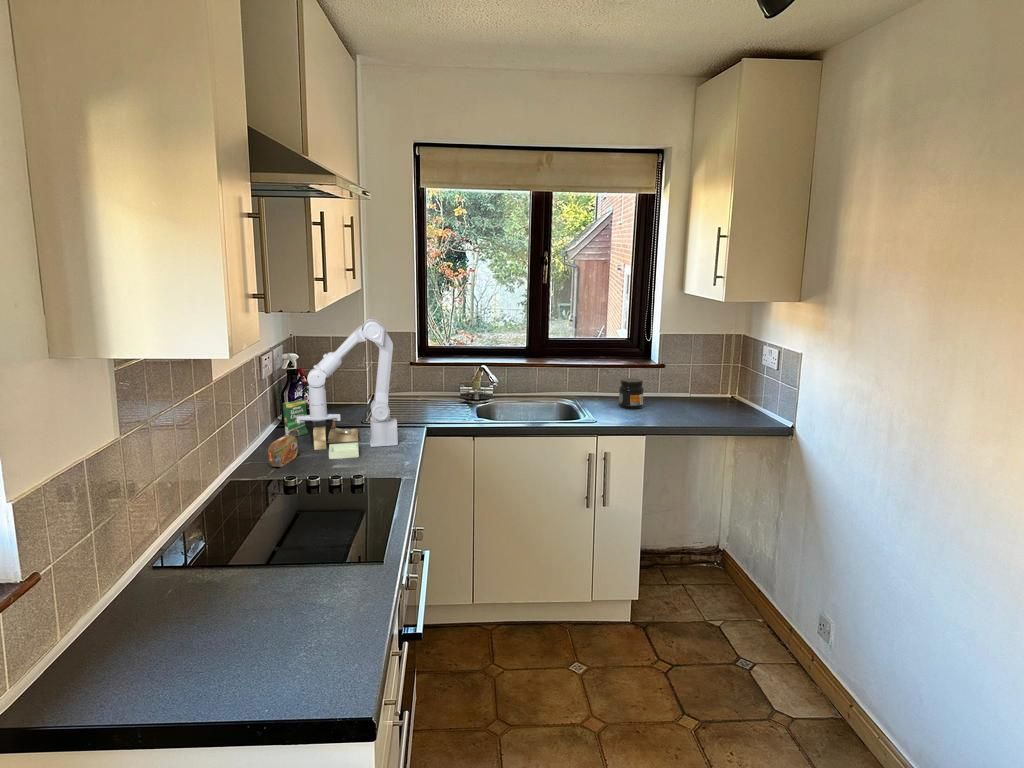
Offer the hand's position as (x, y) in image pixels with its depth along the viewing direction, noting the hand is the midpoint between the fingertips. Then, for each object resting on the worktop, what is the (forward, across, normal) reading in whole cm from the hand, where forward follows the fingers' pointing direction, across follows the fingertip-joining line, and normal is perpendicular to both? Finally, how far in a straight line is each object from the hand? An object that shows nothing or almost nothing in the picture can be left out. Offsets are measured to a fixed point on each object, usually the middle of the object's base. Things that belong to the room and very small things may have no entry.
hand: (320, 441), depth 238 cm
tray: (+2, -8, +9) cm, 12 cm away
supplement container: (+2, -129, -30) cm, 132 cm away
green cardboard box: (+2, +9, -17) cm, 19 cm away
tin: (+2, +11, +14) cm, 18 cm away
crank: (0, -6, -13) cm, 14 cm away
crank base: (+2, -7, -10) cm, 13 cm away
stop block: (+2, 0, 0) cm, 2 cm away
